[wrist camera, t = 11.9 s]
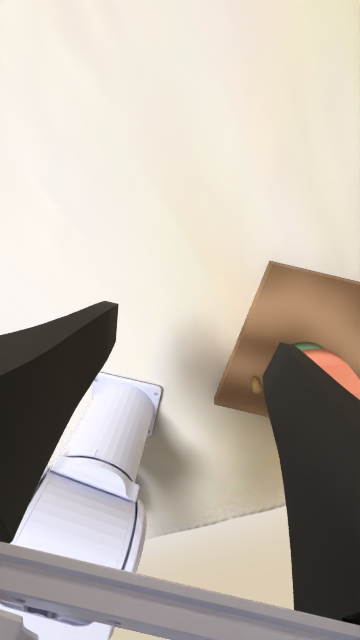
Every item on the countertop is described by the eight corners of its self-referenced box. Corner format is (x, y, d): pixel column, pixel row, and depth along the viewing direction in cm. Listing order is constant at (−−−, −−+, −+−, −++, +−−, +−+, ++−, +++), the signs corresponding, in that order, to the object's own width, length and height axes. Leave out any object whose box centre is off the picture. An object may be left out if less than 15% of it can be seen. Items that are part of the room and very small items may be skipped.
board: (317, 421, 26) (326, 442, 24) (214, 397, 26) (214, 416, 24) (417, 295, 18) (445, 309, 16) (269, 260, 18) (277, 270, 16)
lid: (351, 344, 18) (389, 385, 14) (345, 399, 20) (375, 446, 17) (269, 354, 19) (284, 394, 15) (273, 404, 22) (287, 449, 18)
